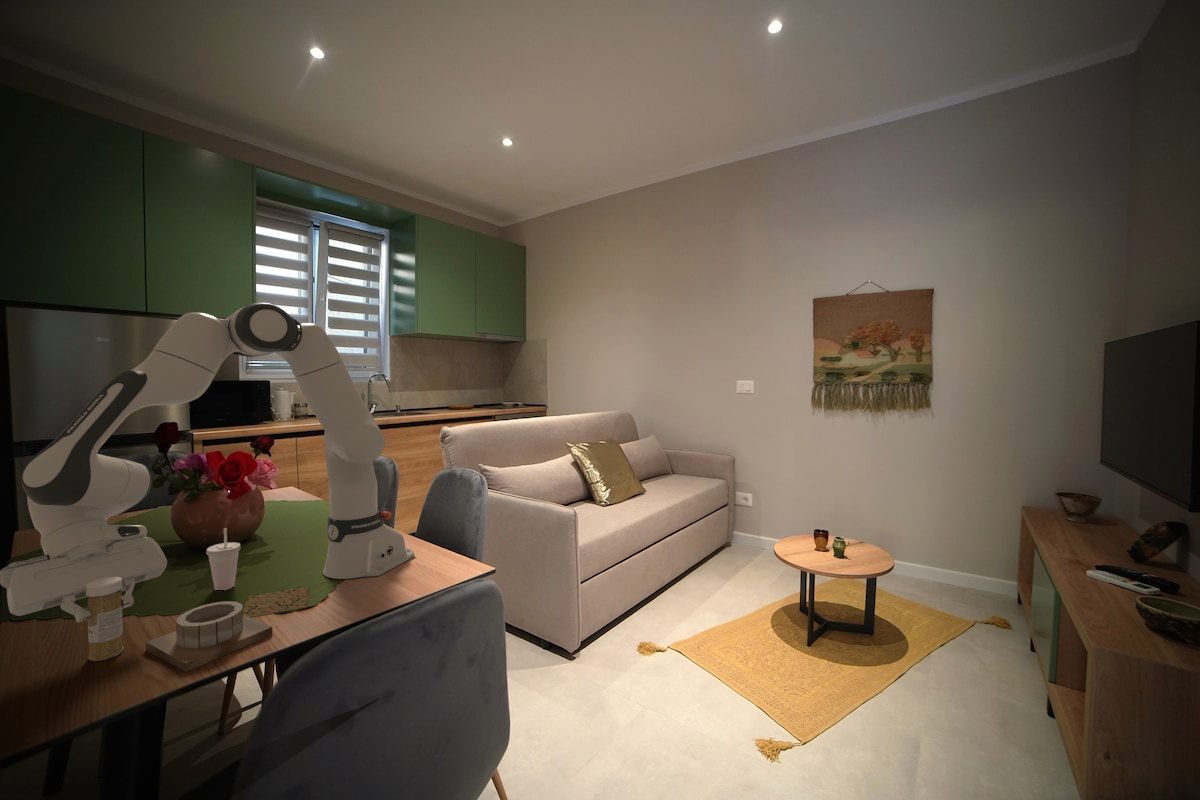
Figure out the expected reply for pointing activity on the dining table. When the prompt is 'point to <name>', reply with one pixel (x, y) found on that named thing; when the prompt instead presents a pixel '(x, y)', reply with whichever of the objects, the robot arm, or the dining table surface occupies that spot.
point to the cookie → (276, 602)
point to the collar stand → (208, 635)
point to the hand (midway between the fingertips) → (106, 612)
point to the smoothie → (224, 563)
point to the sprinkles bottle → (105, 618)
